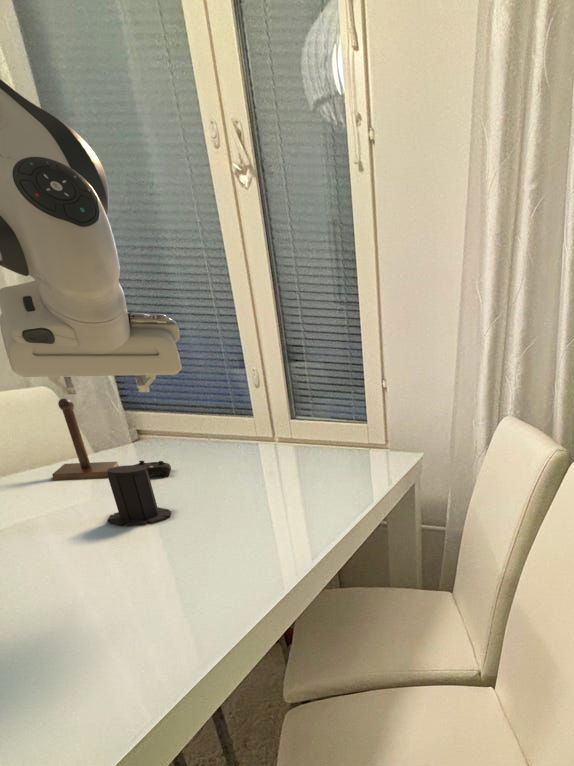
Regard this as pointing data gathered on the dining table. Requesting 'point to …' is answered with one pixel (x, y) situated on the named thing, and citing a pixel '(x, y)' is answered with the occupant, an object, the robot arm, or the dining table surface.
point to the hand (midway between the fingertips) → (107, 389)
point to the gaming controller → (156, 468)
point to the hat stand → (79, 452)
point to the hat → (134, 497)
